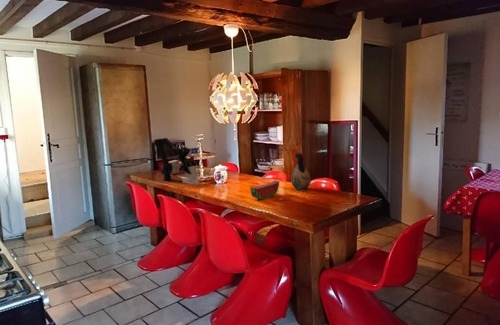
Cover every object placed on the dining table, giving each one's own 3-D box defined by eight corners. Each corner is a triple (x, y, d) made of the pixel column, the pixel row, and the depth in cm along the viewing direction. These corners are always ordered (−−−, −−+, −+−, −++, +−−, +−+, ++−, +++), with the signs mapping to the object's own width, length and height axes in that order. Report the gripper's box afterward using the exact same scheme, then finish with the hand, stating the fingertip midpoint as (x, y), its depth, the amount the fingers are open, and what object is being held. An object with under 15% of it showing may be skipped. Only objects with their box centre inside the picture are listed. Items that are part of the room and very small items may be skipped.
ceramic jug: (289, 187, 298) (288, 151, 293) (308, 186, 299) (307, 149, 294) (293, 193, 282) (293, 154, 276) (313, 192, 283) (313, 153, 277)
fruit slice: (255, 202, 263) (255, 188, 261) (249, 200, 267) (249, 187, 266) (280, 194, 281) (279, 181, 279) (274, 192, 285) (273, 180, 283)
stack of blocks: (182, 170, 387) (181, 158, 385) (186, 170, 383) (185, 159, 381) (166, 174, 371) (165, 162, 369) (170, 174, 367) (169, 162, 365)
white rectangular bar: (182, 182, 331) (182, 178, 331) (184, 182, 333) (184, 177, 332) (197, 184, 321) (197, 180, 320) (199, 184, 323) (199, 179, 322)
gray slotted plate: (191, 182, 322) (190, 167, 319) (189, 181, 323) (188, 167, 321) (196, 180, 326) (195, 166, 324) (194, 180, 328) (193, 165, 326)
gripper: (180, 155, 315) (190, 169, 311) (195, 152, 330) (205, 165, 326) (174, 164, 321) (184, 177, 317) (189, 160, 336) (199, 173, 332)
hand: (193, 173), depth 323 cm, fingers closed on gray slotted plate, 6 cm apart
